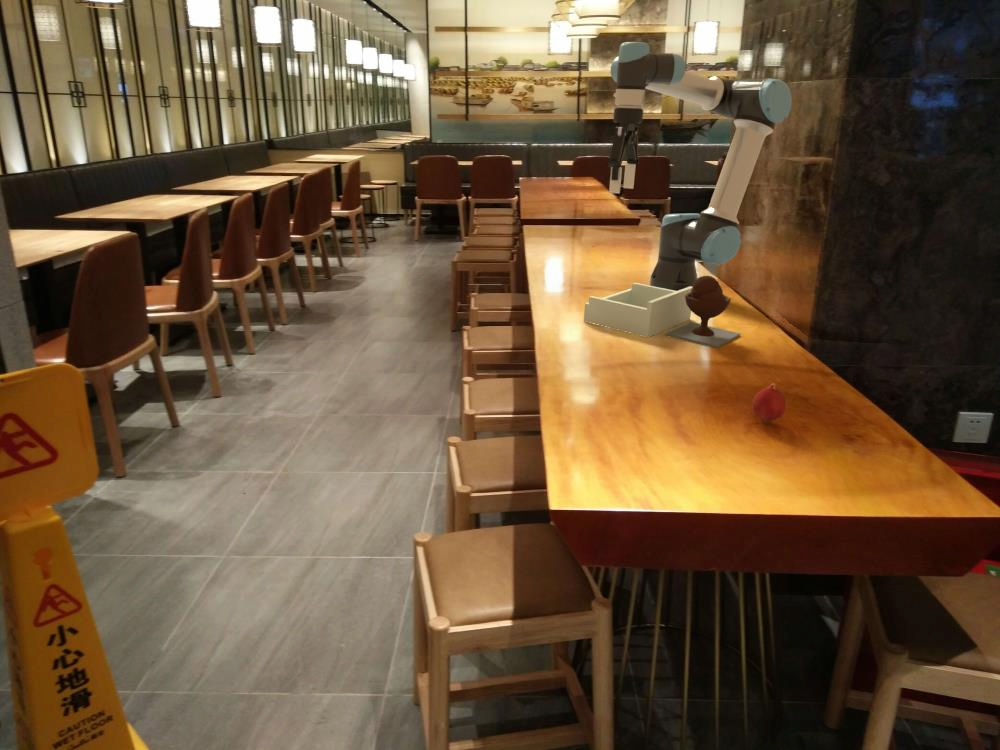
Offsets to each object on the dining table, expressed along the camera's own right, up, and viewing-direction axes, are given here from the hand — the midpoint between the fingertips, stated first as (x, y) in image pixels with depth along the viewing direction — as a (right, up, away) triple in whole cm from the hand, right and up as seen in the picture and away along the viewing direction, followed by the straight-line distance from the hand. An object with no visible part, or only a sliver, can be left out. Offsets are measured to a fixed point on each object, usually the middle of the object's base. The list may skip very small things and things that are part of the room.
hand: (621, 190), depth 201 cm
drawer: (+4, -35, 0) cm, 35 cm away
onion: (+17, -59, -62) cm, 87 cm away
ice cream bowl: (+19, -39, -11) cm, 45 cm away
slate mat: (+19, -40, -11) cm, 45 cm away
